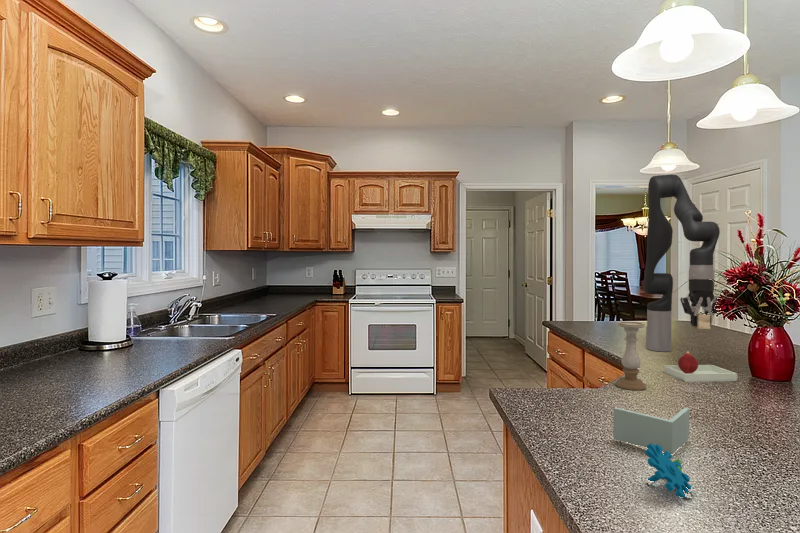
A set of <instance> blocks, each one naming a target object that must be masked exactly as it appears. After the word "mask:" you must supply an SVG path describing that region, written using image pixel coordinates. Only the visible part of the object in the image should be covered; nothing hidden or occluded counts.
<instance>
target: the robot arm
mask: <svg viewBox="0 0 800 533" xmlns="http://www.w3.org/2000/svg"><path fill="white" fill-rule="evenodd" d="M647 190H648V191H647V192H648V193H647V194H648V195H647V196H648V197H647V198H648V223H647V234H646V261H645V267H644V268H645V270H644V278H643V290H644V291H643V292H644V293H645V294H647V295H662V297H660V298H659V299H657V300H654V301H649V302H648V303H647V304H646V308H647V310H646V311H647V312H646V314H647V315H646V316H647V317H646V326H645V327H646V328H645V348H646V349H647V350H649V351H654V352H661V353H662V352H666V353H667V352H671V351H672V321H673V320H672V311H673V309H672V308H673V307H672V306H673V288H674V279H673V276H672V274H671V273H667V272H665V273H664V272H661V273H660V272H655V269H656V267H657V265H658V263H659V262H660V260H662V258H663V257H664V256H665V254H666V253H667V252H668V251H669V249H670V248H671V247H672V244H673V227H672V224H671V223H670V221H669V220H668V219H667V217H666V216H665V214H664V211H663V210H662V206H661V199H665V198H672V197H673V198H675V199H676V201H675V204H674V206H673V212H674V216H675V217H676V218H677V220H678V221H679V222H680V224H681V227H682V232H683V236H684V238H685V240H688V241H690V242H702V244H701V246H700V247H696V248H693V249H690V251H689V266H688V291H689V293H688V294H687V296H685V297H680V299H679V300H680V302H681V306H682V308H683V312H684V313H685V314H687V315H689V317H690V325H692V326H694V327H697V324H698V316H697V314H698V313H699V310H700V308H702V309H703V314H707V313H709V312H711V311H713V312H712V313H709V315H710V326H712V317H713V316H714V315H715V314H713V313H717V312H718V313H719V311H718V310H716V309H714V306H715V305H716V302H717V298H718V297H717V296H715V295H714V291H715V269H714V253H715V250H716V246H717V242H718V241H719V236H720V234H721V231H720V230H721V229H720V226H719V225H718V224H717V223H716V222H715V221H703V220H704V217H703V214H702V211H700V210H699V208H697V206H696V205H695V204H694V202H693V201H692V199H691V197H690V195H689V192H688V190H687V188H686V187H685V184H684V182H683V180H682V179H681V177H680V176H679V175H678V174H673V173H672V174H660V175H653V176H651V177H650V178H649V180H648V188H647ZM709 279H712V280H714V282H713V281H712V280H709ZM690 302H691V303H690ZM718 313H717V314H718Z"/></svg>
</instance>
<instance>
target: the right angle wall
mask: <svg viewBox="0 0 800 533" xmlns="http://www.w3.org/2000/svg"><path fill="white" fill-rule="evenodd" d="M613 439H616V440H620V441H624V442H628V443H631V444H635V445H640V446H644V447H647V445H649V444H654V445H657V444H658V445H660V446H661V447H662V448H663V450H662V451H663V452H666V451H669V452H670V453H671V454H673V453H674V452H675V451H676V450H677V449H678V448H679V447H681V446H682V445H683V444H684V443H685V442H686V441H687V440H688V439H689V440H690V408H689V407H684V408H683V409H681V410H680V411H679V412H677V413H675V415H674V416H672V417H671V418H670V419H667V418H663V417H658V416H654V415H651V414H650V415H649V414H646V413H642V412H637V411H632V410H628V409H625V408H620V407H616V406H615V407H613Z"/></svg>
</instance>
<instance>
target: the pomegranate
mask: <svg viewBox="0 0 800 533" xmlns="http://www.w3.org/2000/svg"><path fill="white" fill-rule="evenodd" d="M677 365H678V366H679V368H680V369H681V370H682V371H683V372H684V373H685V374H692V373H693V372H695V371H696V370H697V368H698V365H699V363H698V360H697V359H696V357H695V356H693V355H692V354H691V353H690V351H686V352H685V354H683V355H682V356H681V357H679V359H678V361H677Z"/></svg>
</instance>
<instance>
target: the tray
mask: <svg viewBox="0 0 800 533" xmlns="http://www.w3.org/2000/svg"><path fill="white" fill-rule="evenodd" d="M663 373H664V374H666V375H668V376H669V377H670V376H671V377H673V378H675V379H678V380H680V381H682V382H685V383H689V382H691V383H692V382H695V383H696V382H697V383H698V382H701V383H702V382H738V373H736V372H733V371H730V370H728V369H725V368H722V367H720V366H717V365H714V364H698V368H697V370H696V371H695V372H693V373H692V374H685V373H684V372H683V371H682V370H681V369H680V368H679V366H678V364H676V365H675V364H674V365H673V364H670V365H668V364H667V365H665V364H664V365H663Z"/></svg>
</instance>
